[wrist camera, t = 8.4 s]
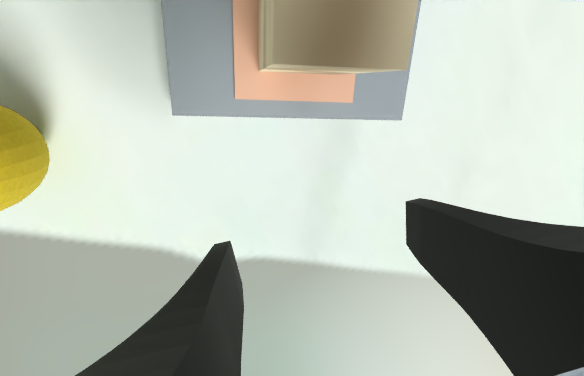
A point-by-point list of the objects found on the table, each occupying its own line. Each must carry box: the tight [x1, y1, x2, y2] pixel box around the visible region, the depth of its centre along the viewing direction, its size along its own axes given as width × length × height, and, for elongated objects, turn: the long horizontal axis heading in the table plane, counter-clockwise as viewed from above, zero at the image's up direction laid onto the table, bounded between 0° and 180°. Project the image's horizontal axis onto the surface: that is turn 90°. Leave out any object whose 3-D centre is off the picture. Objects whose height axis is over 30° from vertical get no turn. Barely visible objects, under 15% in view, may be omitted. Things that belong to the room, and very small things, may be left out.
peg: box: [258, 0, 418, 75], centre depth 12 cm, size 4×4×8 cm
